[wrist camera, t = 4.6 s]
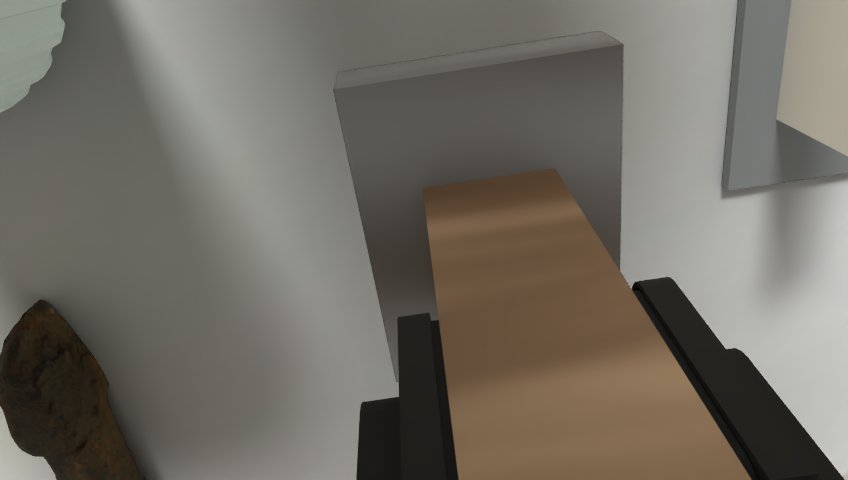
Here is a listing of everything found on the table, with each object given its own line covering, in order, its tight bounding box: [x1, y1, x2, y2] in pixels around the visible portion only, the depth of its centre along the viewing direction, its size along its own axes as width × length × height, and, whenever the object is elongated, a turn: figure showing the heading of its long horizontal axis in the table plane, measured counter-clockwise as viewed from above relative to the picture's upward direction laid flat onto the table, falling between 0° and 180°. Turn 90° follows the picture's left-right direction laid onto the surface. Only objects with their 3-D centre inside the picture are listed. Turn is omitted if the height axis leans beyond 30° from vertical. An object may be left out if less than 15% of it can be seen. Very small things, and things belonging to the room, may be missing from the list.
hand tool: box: [0, 299, 146, 480], centre depth 31 cm, size 19×4×5 cm, turn 4°
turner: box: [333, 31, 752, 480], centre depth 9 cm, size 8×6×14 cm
